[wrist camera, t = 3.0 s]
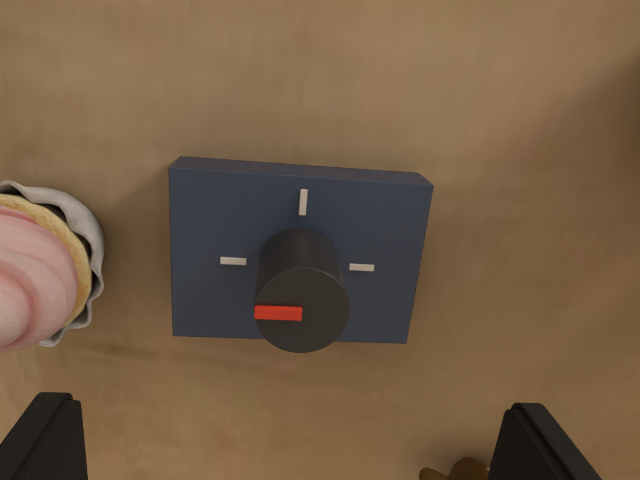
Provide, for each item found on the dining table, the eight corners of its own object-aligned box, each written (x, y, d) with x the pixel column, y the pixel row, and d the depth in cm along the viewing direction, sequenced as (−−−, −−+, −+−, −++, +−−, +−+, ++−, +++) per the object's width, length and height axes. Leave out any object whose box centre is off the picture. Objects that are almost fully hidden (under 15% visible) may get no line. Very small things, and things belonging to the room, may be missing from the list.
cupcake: (-70, 189, 27) (-257, 258, 17) (87, 138, 26) (-20, 181, 17) (17, 326, 30) (-102, 445, 21) (156, 282, 30) (99, 384, 20)
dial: (341, 229, 26) (356, 273, 21) (333, 300, 28) (346, 358, 22) (260, 224, 26) (255, 268, 20) (257, 297, 27) (251, 356, 22)
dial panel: (419, 172, 29) (434, 185, 26) (395, 319, 32) (407, 345, 29) (180, 156, 27) (167, 167, 24) (182, 311, 31) (171, 337, 28)
